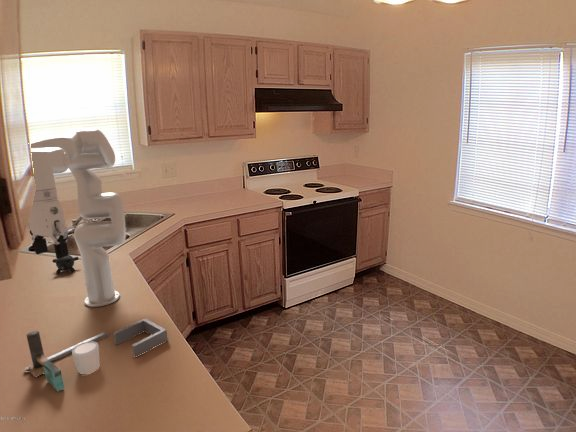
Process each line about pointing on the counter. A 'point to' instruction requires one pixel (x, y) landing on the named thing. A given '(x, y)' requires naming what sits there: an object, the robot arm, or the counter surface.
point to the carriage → (43, 362)
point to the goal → (134, 329)
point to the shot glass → (86, 357)
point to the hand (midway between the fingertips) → (52, 254)
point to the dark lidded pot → (65, 263)
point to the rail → (69, 350)
